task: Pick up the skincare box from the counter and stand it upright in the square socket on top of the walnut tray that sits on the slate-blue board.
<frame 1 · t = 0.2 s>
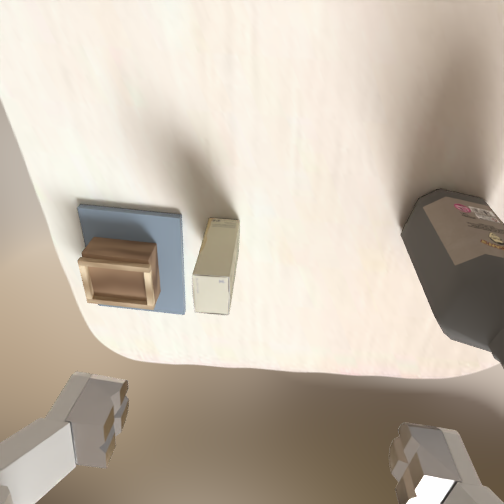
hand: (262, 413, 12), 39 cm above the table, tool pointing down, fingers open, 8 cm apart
liquor: (440, 220, 51), on the table
skincare box: (225, 236, 55), on the table
blue board: (137, 261, 59), on the table
walnut tray: (128, 265, 58), point 1 cm above the table, touching blue board
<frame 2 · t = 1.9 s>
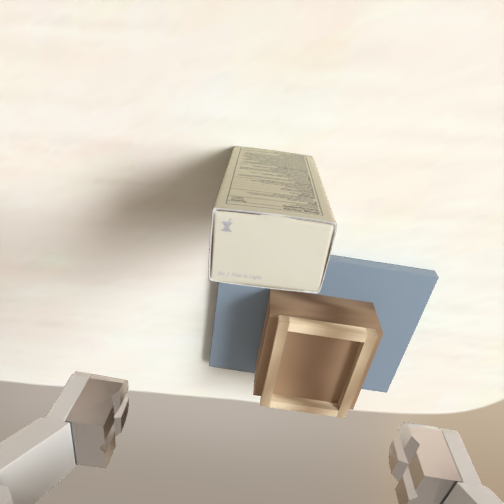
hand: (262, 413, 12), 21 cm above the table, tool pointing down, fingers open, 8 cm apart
skincare box: (271, 175, 31), on the table
blue board: (312, 318, 37), on the table
walnut tray: (310, 334, 36), point 1 cm above the table, touching blue board
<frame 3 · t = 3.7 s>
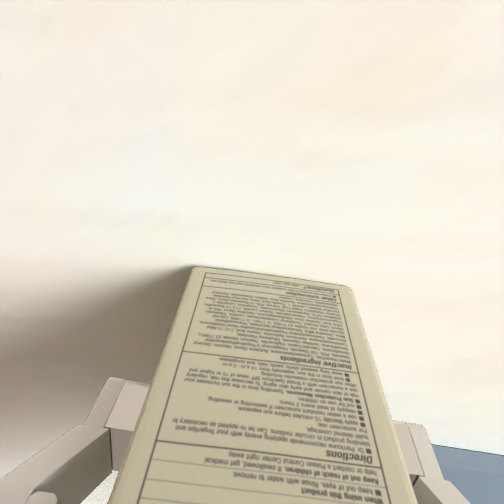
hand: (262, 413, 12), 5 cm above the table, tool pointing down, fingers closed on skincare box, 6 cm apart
skincare box: (269, 313, 16), on the table, touching gripper
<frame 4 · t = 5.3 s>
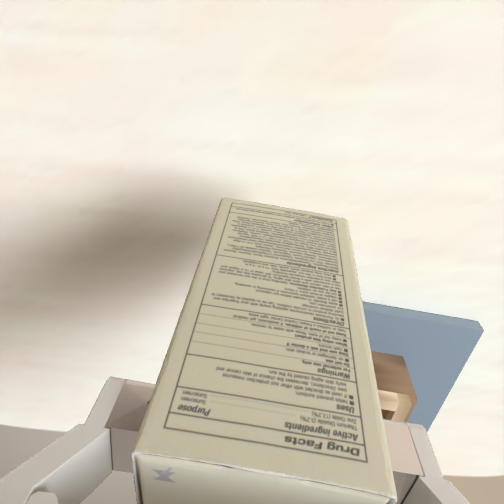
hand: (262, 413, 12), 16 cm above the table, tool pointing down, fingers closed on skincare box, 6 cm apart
skincare box: (280, 239, 20), point 6 cm above the table, touching gripper
blue board: (330, 369, 32), on the table
walnut tray: (328, 387, 31), point 1 cm above the table, touching blue board
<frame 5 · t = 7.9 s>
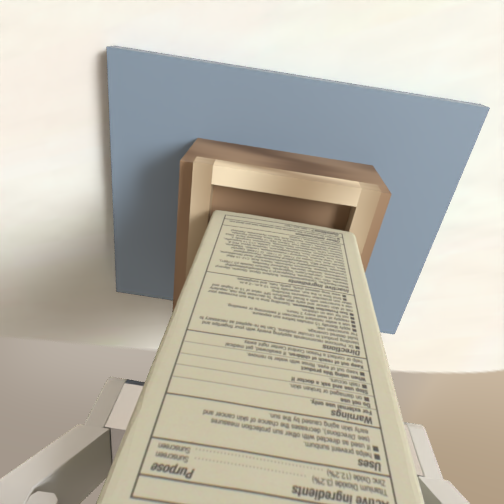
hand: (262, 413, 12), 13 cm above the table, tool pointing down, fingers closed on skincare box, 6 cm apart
skincare box: (279, 256, 18), point 6 cm above the table, touching gripper, walnut tray
blue board: (274, 206, 23), on the table
walnut tray: (271, 230, 22), point 1 cm above the table, touching blue board, skincare box
when the fingers open (12 cm above the table, at t = 8.7 s): skincare box stays where it is, resting on walnut tray.
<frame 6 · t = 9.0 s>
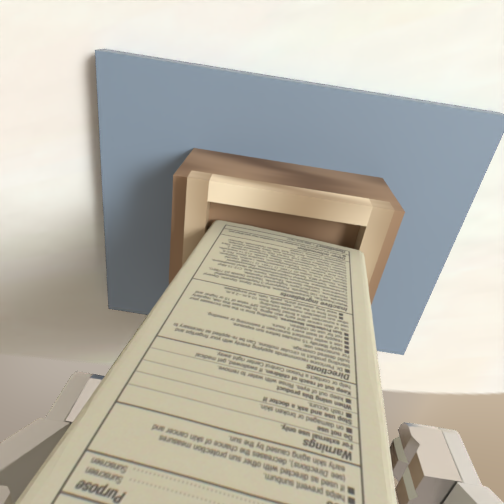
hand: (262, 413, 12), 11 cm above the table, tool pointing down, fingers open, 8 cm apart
skincare box: (283, 273, 17), point 5 cm above the table, touching walnut tray
blue board: (276, 220, 21), on the table
walnut tray: (272, 245, 21), point 1 cm above the table, touching blue board, skincare box
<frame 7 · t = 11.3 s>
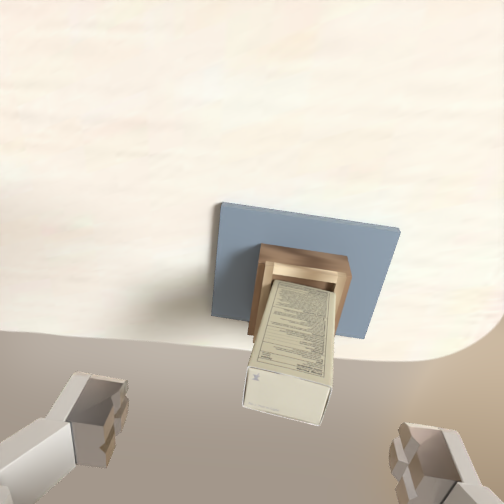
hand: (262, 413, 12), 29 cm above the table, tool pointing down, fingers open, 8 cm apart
skincare box: (302, 301, 39), point 5 cm above the table, touching walnut tray
blue board: (297, 272, 44), on the table
walnut tray: (296, 285, 43), point 1 cm above the table, touching blue board, skincare box
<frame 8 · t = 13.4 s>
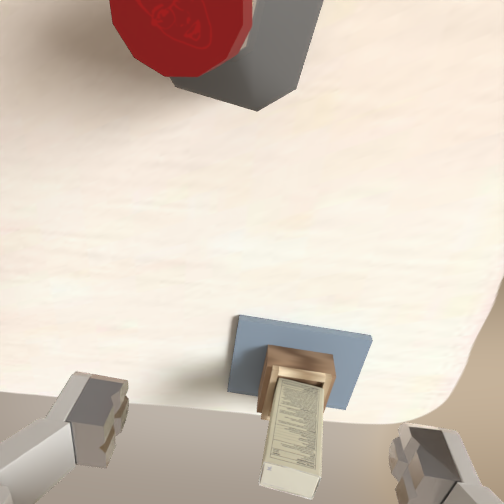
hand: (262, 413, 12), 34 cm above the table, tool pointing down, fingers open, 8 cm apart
liquor: (253, 22, 37), on the table
skincare box: (299, 391, 52), point 5 cm above the table, touching walnut tray
blue board: (295, 362, 57), on the table
walnut tray: (294, 372, 56), point 1 cm above the table, touching blue board, skincare box
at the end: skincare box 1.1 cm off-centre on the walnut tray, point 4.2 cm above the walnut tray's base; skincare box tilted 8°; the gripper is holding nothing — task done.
